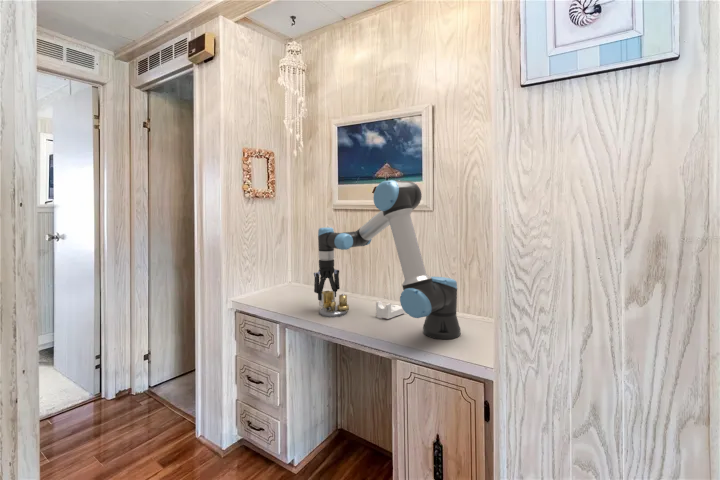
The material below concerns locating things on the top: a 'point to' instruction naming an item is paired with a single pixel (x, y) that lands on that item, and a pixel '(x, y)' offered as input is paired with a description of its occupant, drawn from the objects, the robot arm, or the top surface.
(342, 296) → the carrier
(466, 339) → the top surface
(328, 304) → the brass square sleeve
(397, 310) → the bracket
